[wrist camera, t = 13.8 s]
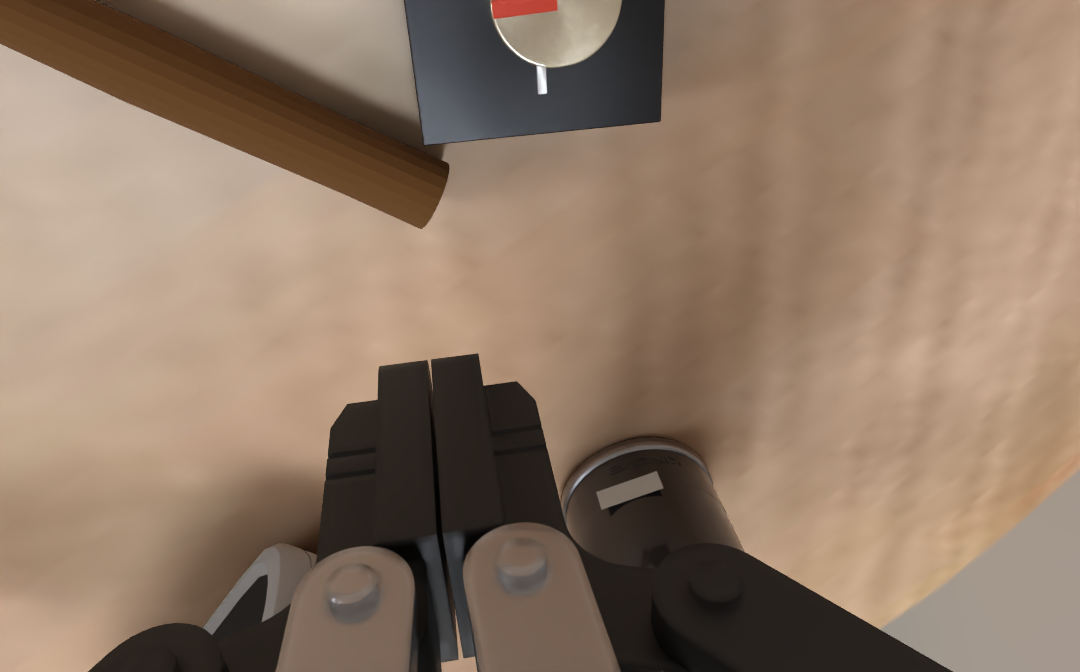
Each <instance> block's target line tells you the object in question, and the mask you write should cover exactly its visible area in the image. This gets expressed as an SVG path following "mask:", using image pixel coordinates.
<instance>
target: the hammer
mask: <svg viewBox="0 0 1080 672" xmlns="http://www.w3.org/2000/svg"><path fill="white" fill-rule="evenodd" d="M0 44H2V45H5V46H7V47H9V48H11V49H13V50H15V51H17V52H20V53H22V54H24V55H26V56H28V57H30V58H32V59H35V60H37V61H39V62H41V63H43V64H45V65H48V66H50V67H52V68H54V69H56V70H58V71H60V72H63V73H65V74H67V75H69V76H71V77H73V78H75V79H78V80H80V81H82V82H84V83H86V84H88V85H90V86H93V87H95V88H97V89H99V90H101V91H103V92H106V93H108V94H110V95H112V96H114V97H116V98H118V99H121V100H123V101H125V102H127V103H130V104H132V105H134V106H137V107H139V108H141V109H144V110H146V111H149V112H151V113H153V114H156V115H158V116H160V117H163V118H165V119H167V120H170V121H172V122H175V123H177V124H179V125H182V126H184V127H186V128H189V129H191V130H194V131H196V132H198V133H201V134H203V135H205V136H208V137H210V138H213V139H215V140H217V141H220V142H222V143H224V144H227V145H229V146H231V147H234V148H236V149H239V150H241V151H243V152H246V153H248V154H250V155H253V156H255V157H258V158H260V159H262V160H265V161H267V162H269V163H272V164H274V165H276V166H279V167H281V168H284V169H286V170H288V171H291V172H293V173H295V174H298V175H300V176H303V177H305V178H307V179H310V180H312V181H314V182H317V183H319V184H322V185H324V186H326V187H329V188H331V189H333V190H336V191H338V192H340V193H343V194H345V195H347V196H349V197H352V198H354V199H356V200H358V201H360V202H363V203H365V204H367V205H369V206H371V207H374V208H376V209H378V210H380V211H382V212H385V213H387V214H389V215H391V216H393V217H396V218H398V219H400V220H402V221H404V222H407V223H409V224H411V225H413V226H415V227H418V228H420V229H422V228H423V227H425V226H426V224H427V223H428V222H429V220H430V219H431V217H432V215H433V213H434V212H435V210H436V207H437V205H438V203H439V201H440V199H441V196H442V194H443V191H444V188H445V185H446V182H447V179H448V174H449V164H448V163H447V162H444V161H442V160H440V159H438V158H435V157H433V156H431V155H428V154H426V153H424V152H422V151H419V150H417V149H415V148H413V147H410V146H408V145H406V144H403V143H401V142H399V141H397V140H394V139H392V138H390V137H388V136H385V135H383V134H381V133H378V132H376V131H374V130H372V129H369V128H367V127H365V126H363V125H361V124H359V123H357V122H355V121H352V120H350V119H348V118H346V117H344V116H342V115H340V114H338V113H336V112H333V111H331V110H329V109H327V108H325V107H323V106H321V105H319V104H317V103H314V102H312V101H310V100H308V99H306V98H304V97H302V96H300V95H298V94H295V93H293V92H291V91H289V90H287V89H285V88H283V87H281V86H279V85H276V84H274V83H272V82H270V81H268V80H266V79H264V78H262V77H260V76H257V75H255V74H253V73H251V72H249V71H247V70H245V69H243V68H241V67H238V66H236V65H234V64H232V63H230V62H228V61H226V60H224V59H222V58H219V57H217V56H215V55H213V54H211V53H209V52H207V51H205V50H203V49H200V48H198V47H196V46H194V45H192V44H190V43H188V42H186V41H183V40H181V39H179V38H177V37H175V36H173V35H171V34H169V33H167V32H164V31H162V30H160V29H158V28H156V27H154V26H152V25H149V24H147V23H145V22H142V21H140V20H138V19H135V18H133V17H131V16H128V15H126V14H124V13H121V12H119V11H117V10H114V9H112V8H110V7H107V6H105V5H103V4H100V3H98V2H96V1H93V0H0Z"/></svg>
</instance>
